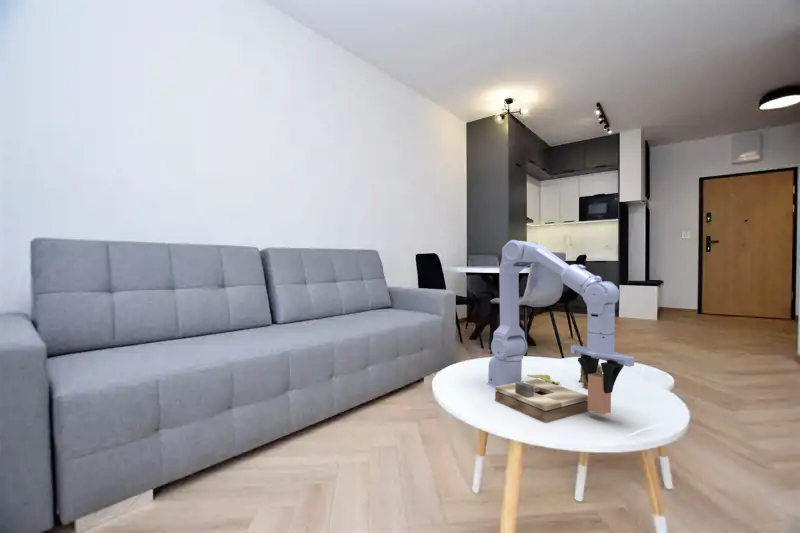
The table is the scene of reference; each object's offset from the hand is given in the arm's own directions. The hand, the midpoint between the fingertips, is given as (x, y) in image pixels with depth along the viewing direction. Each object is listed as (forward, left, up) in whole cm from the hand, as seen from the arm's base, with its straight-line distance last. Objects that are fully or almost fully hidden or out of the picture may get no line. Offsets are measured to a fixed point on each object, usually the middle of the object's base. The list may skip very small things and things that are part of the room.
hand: (599, 389), depth 89 cm
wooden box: (-12, -6, -7) cm, 15 cm away
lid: (-12, -6, -4) cm, 14 cm away
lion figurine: (-18, +23, -8) cm, 31 cm away
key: (-28, +14, -8) cm, 32 cm away
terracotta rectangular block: (0, 0, -5) cm, 5 cm away
